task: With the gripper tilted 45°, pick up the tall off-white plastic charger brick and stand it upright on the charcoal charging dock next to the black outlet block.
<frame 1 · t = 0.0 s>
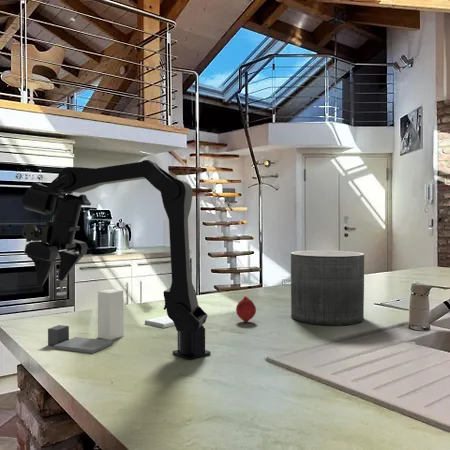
hand: (50, 282, 109), 15 cm above the countertop, tool pointing down, fingers open, 9 cm apart
charger brick: (110, 336, 119), on the countertop
charging dock: (84, 346, 110), on the countertop
external hard drive: (169, 324, 135), on the countertop
onion: (246, 322, 135), on the countertop
planter: (326, 318, 141), on the countertop
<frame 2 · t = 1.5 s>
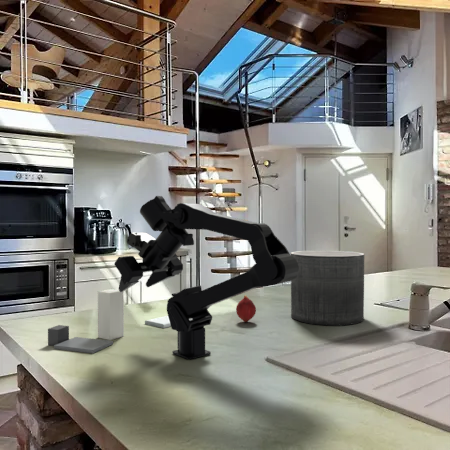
hand: (133, 288, 113), 13 cm above the countertop, tool tilted 45°, fingers open, 9 cm apart
nothing on the countertop moved.
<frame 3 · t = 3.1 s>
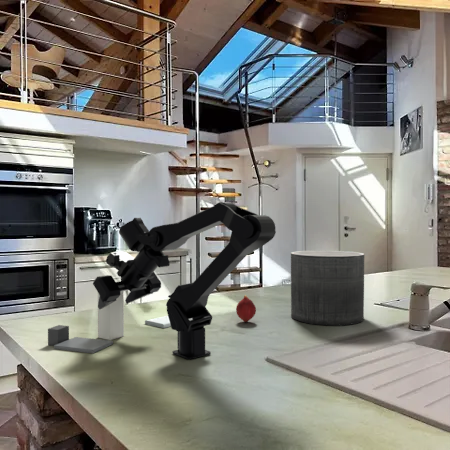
hand: (113, 304, 118), 8 cm above the countertop, tool tilted 45°, fingers open, 9 cm apart
nothing on the countertop moved.
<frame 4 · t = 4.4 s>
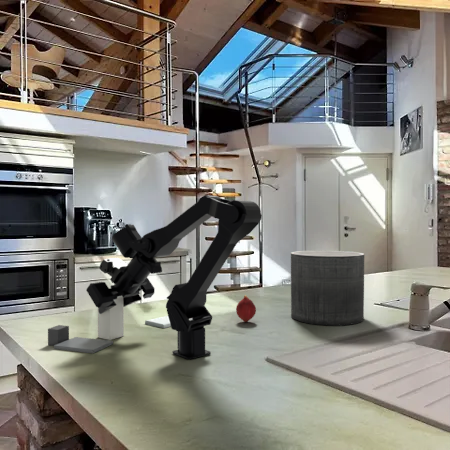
hand: (107, 310, 119), 7 cm above the countertop, tool tilted 45°, fingers closed on charger brick, 5 cm apart
charger brick: (110, 336, 119), on the countertop, touching gripper
everything else where it was.
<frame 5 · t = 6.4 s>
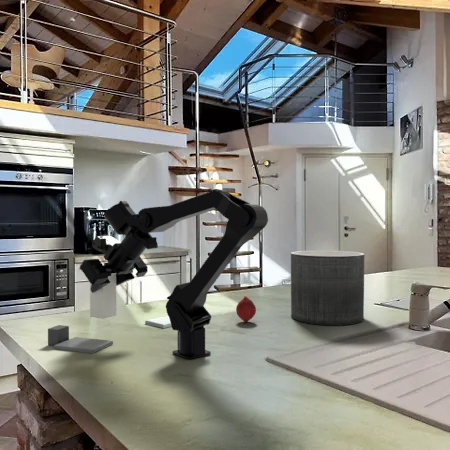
hand: (99, 289, 117), 12 cm above the countertop, tool tilted 45°, fingers closed on charger brick, 5 cm apart
charger brick: (103, 316, 116), point 6 cm above the countertop, touching gripper
everything else where it was.
when the fingers open (9 cm above the countertop, at t = 8.3 s): charger brick drops 2 cm, resting on charging dock.
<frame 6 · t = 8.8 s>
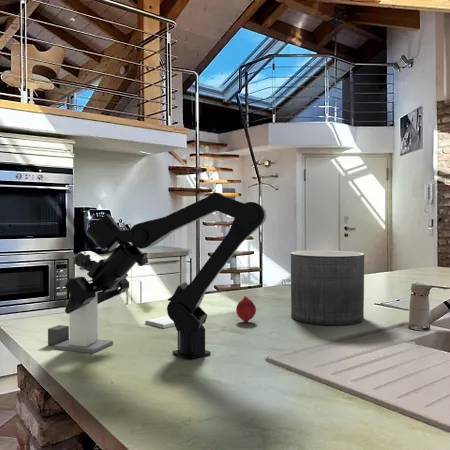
hand: (78, 308, 110), 9 cm above the countertop, tool tilted 45°, fingers open, 9 cm apart
charger brick: (83, 343, 110), point 1 cm above the countertop, touching charging dock
everything else where it was.
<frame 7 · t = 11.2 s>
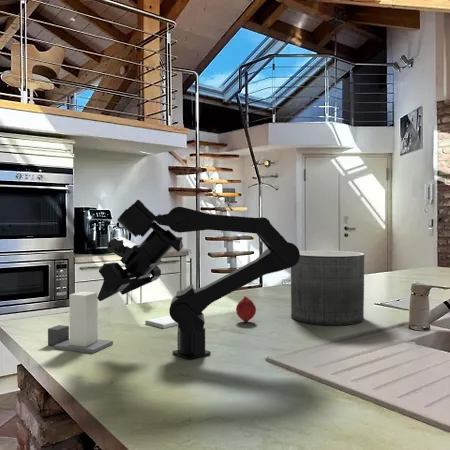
hand: (110, 296, 107), 13 cm above the countertop, tool tilted 45°, fingers open, 9 cm apart
nothing on the countertop moved.
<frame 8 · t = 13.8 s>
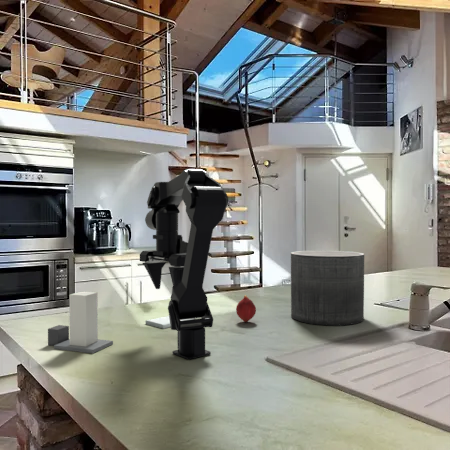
hand: (167, 291, 118), 12 cm above the countertop, tool pointing down, fingers open, 9 cm apart
nothing on the countertop moved.
at the end: charger brick inside the target area on the charging dock (0.0 cm from its centre), point 0.8 cm above the charging dock's base; charger brick tilted 0°; the gripper is holding nothing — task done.
